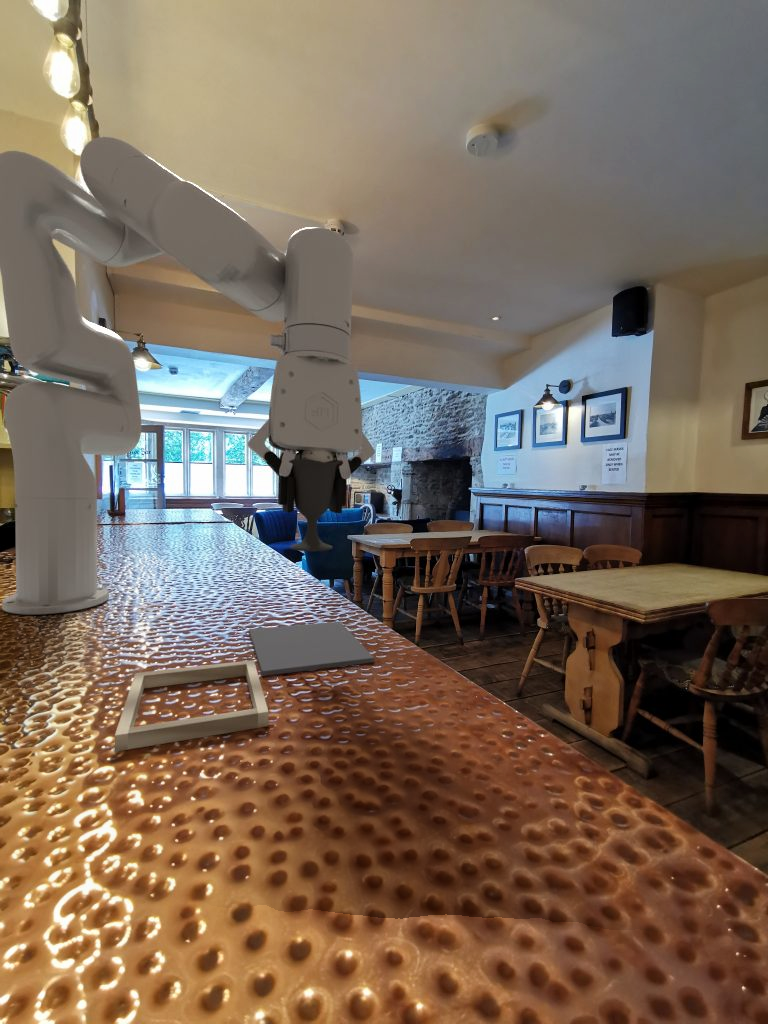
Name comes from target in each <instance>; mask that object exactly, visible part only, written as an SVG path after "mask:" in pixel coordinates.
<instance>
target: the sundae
mask: <svg viewBox="0 0 768 1024" xmlns="http://www.w3.org/2000/svg"><path fill="white" fill-rule="evenodd" d="M289 462H290V463H292V464H293V465H292V468H291V472H292V477H293V478H294V479H295V488H294V507H295V508H296V509H297V511H298V512H299V513H300V514H301V515H302V516H303V517H304V518H305V519H306V532H305V536H304V538H303V539H302V540H301V541H300V542H299V543H294V544H292V545H290V546H289V548H290V549H291V550H293V551H299V552H325V551H331V550H333V548H334V547H333V545H330V544H328V543H324V542H323V541H322V540H321V539H320V537H319V534H318V520H319V519H320V517H321V516H323V515H324V514H325V513H326V512H327V511H328V510H329V506H330V502H331V498H332V492H333V486H334V479H335V475H336V471H337V469H338V467H340V466H341V465H342V464H343V461H342V460H339V461H338V460H334V458H333V455H332V453H331V452H328V451H323V450H316V451H313V450H299V452H296V455H295V459H294V460H291V461H289Z"/></svg>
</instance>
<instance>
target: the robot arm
mask: <svg viewBox="0 0 768 1024" xmlns="http://www.w3.org/2000/svg"><path fill="white" fill-rule="evenodd" d="M79 166H80V172H81V175H82V177H83V181H84V183H85V185H86V186H84V185H83V184H82V183H81V182H79V181H78V180H76V178H73V177H72V176H70V175H68V173H66V172H65V171H63V170H61V169H59V168H58V167H57V166H54V165H53V164H52V163H50V162H48V161H46V160H44V159H41V158H40V157H37V156H36V155H32V154H29V153H27V152H25V151H24V152H23V151H18V150H7V151H3V152H2V153H0V275H1V283H2V285H1V286H2V294H3V301H4V308H5V316H6V317H5V318H6V325H7V333H8V339H9V340H8V341H9V344H10V348H11V352H12V355H13V358H14V359H15V361H16V362H17V363H18V364H19V365H20V366H22V368H24V369H25V370H27V371H30V372H32V373H35V374H38V375H40V376H41V375H42V376H45V377H48V378H52V379H56V380H61V381H65V382H69V383H74V384H77V385H82V386H84V388H85V389H82V388H79V387H76V386H75V387H74V386H70V385H67V384H66V385H65V384H61V383H60V384H59V383H55V382H49V381H29V382H25V383H22V384H19V385H17V386H16V387H14V388H13V389H12V390H10V392H9V393H8V395H7V396H6V399H5V400H4V401H5V402H4V406H3V417H4V422H5V426H6V431H7V436H8V439H9V443H10V447H11V448H10V449H11V452H12V459H13V460H12V461H13V470H14V471H13V472H14V473H13V474H14V475H13V476H14V499H15V501H14V502H15V503H14V506H15V507H14V509H15V511H14V513H15V517H14V519H15V520H14V521H15V577H16V578H15V583H16V584H15V585H16V587H15V588H16V589H15V590H16V593H13V594H11V595H8V596H6V597H4V599H2V601H1V610H2V611H4V612H6V613H9V614H15V615H25V616H26V615H27V616H28V615H51V614H53V615H54V614H60V613H69V612H75V611H81V610H86V609H88V608H94V607H96V606H98V605H101V604H103V603H105V602H106V601H108V600H109V598H110V592H109V590H108V589H107V588H106V587H104V586H103V587H102V586H98V490H97V489H98V488H97V487H98V486H97V481H96V478H95V475H94V472H93V470H92V468H91V466H90V464H89V463H88V461H87V460H86V458H85V457H84V455H94V456H95V455H97V456H106V457H107V456H109V457H110V456H111V457H117V456H124V455H126V454H129V453H130V452H132V451H133V450H134V449H135V448H136V447H137V445H139V444H138V443H139V441H140V439H141V434H142V413H141V405H140V398H139V390H138V389H139V387H138V379H137V371H136V364H135V360H134V356H133V354H132V351H131V349H130V347H129V345H128V344H127V342H126V341H125V340H124V339H123V338H122V337H121V336H120V335H118V334H117V333H115V332H114V331H112V330H111V329H108V328H105V327H103V326H100V325H98V324H96V323H93V322H90V321H88V320H87V319H86V318H84V317H83V315H82V313H81V310H80V306H79V299H78V290H77V285H76V282H75V279H74V276H73V274H72V272H71V270H70V268H69V267H68V264H67V261H65V259H64V258H63V257H62V255H61V253H60V251H58V249H57V247H56V245H55V244H54V241H53V240H55V241H57V242H59V243H60V244H62V245H65V246H66V247H68V248H70V249H72V250H73V251H76V252H77V253H80V254H81V255H83V256H85V257H87V258H89V259H91V260H93V261H95V262H96V263H99V264H101V265H103V266H106V267H109V268H124V267H128V266H131V265H135V264H138V263H140V262H144V261H146V260H150V259H152V258H156V257H159V256H161V255H167V256H169V257H170V258H172V259H173V260H174V261H175V262H177V263H178V264H179V265H181V266H183V267H184V268H185V269H186V270H188V271H189V272H190V273H192V274H193V275H194V276H196V277H197V278H198V279H200V280H201V281H203V282H204V283H206V284H207V285H208V286H209V287H211V288H213V289H215V290H216V291H218V292H219V293H221V294H223V296H226V297H227V298H228V299H230V300H232V301H234V302H236V303H237V304H238V305H240V306H242V307H243V308H244V309H246V310H247V311H249V312H250V313H252V314H253V315H255V316H256V317H258V318H260V319H262V320H264V321H267V322H270V323H272V322H273V323H278V322H279V323H281V322H283V332H281V333H280V334H277V335H276V334H270V337H269V348H273V349H276V350H279V352H280V353H281V356H278V358H277V360H276V363H275V368H274V373H273V378H272V386H271V393H270V399H269V413H268V419H267V420H266V421H265V422H264V424H263V425H262V426H261V427H260V428H259V429H258V430H257V431H256V433H254V435H253V436H252V437H251V438H250V439H249V440H248V441H247V447H248V449H250V450H251V451H252V452H253V453H255V454H256V455H257V456H258V457H259V458H261V459H262V460H263V462H265V464H266V465H268V466H269V468H270V469H272V471H273V473H275V475H276V476H278V482H277V483H278V490H277V491H278V492H277V502H278V503H277V504H278V505H279V506H282V512H284V513H287V514H292V513H293V512H295V501H294V488H295V479H294V478H293V477H292V472H291V468H292V465H293V464H292V463H290V462H289V461H291V460H294V459H295V455H296V453H298V452H299V450H313V451H316V450H323V451H328V452H331V453H332V455H333V458H334V460H338V461H339V460H342V461H343V464H342V465H341V466H340V467H338V469H337V471H336V475H335V479H334V486H333V492H332V498H331V502H330V506H329V508H328V510H329V511H330V512H331V513H335V514H342V512H343V507H345V506H346V504H347V486H348V485H347V482H348V479H350V478H351V476H352V474H353V473H355V472H356V470H357V469H359V468H360V467H361V465H362V464H364V463H365V462H366V461H368V460H369V459H371V458H372V457H373V456H374V455H375V453H376V451H375V448H374V447H373V445H372V444H371V442H370V441H369V439H368V438H367V436H366V435H365V434H364V432H363V411H362V397H361V386H360V380H359V379H360V378H359V372H358V367H357V366H356V365H354V364H351V360H350V359H351V337H352V333H351V332H352V305H353V280H354V279H353V278H354V275H353V272H354V255H353V250H352V247H351V245H350V242H348V240H347V239H346V238H345V237H344V236H343V235H342V234H340V233H338V232H337V231H334V230H332V229H329V228H323V227H319V226H317V227H313V226H312V227H311V226H310V227H304V228H301V229H299V230H296V231H295V232H294V233H292V235H291V236H290V237H289V238H288V241H287V243H286V246H285V252H283V251H281V250H279V249H278V248H276V247H275V246H274V244H272V243H271V242H270V241H269V240H268V239H267V238H266V237H265V236H264V235H263V234H262V233H261V232H260V231H258V230H257V229H256V228H255V227H254V226H253V225H252V224H250V222H248V220H246V219H245V218H243V216H241V215H240V214H239V213H237V212H236V211H235V210H233V209H232V208H230V207H229V206H227V205H226V204H225V203H224V202H221V201H220V200H219V199H217V198H215V197H214V196H213V195H212V194H210V193H209V192H207V191H205V190H204V189H202V188H201V187H199V186H198V185H196V184H195V183H193V182H191V181H189V180H184V179H182V178H181V177H179V176H178V175H176V174H174V173H173V172H172V171H170V170H169V169H167V168H166V167H165V166H163V165H161V163H158V162H157V161H156V160H154V159H153V158H151V157H150V156H149V155H147V154H145V153H144V152H143V151H141V150H139V149H138V148H137V147H135V146H133V145H132V144H130V143H128V142H126V141H124V140H121V139H119V138H115V137H111V136H101V137H96V138H93V139H91V140H90V141H88V142H87V143H86V144H85V146H84V147H83V149H82V150H81V153H80V158H79ZM280 353H279V354H280ZM267 439H268V442H269V445H270V446H271V447H272V448H274V449H276V450H279V451H281V452H280V455H279V456H278V455H277V454H276V453H275V452H273V451H272V450H271V449H270V448H269V447H267V446H266V441H267ZM354 452H357V453H355V454H354V455H353V456H352V457H350V458H348V455H347V453H354Z"/></svg>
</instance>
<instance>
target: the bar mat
mask: <svg viewBox="0 0 768 1024" xmlns="http://www.w3.org/2000/svg"><path fill="white" fill-rule="evenodd" d="M248 634H249V638H250V641H251V644H252V649H253V651H254V654H255V658H256V662H257V663H258V667H259V671H260V673H261V676H262V677H265V676H274V675H281V674H289V673H296V672H306V671H314V670H320V669H331V668H337V667H345V666H353V665H361V664H369V663H375V657H374V656H373V655H372V654H371V653H370V652H369V651H368V649H367V648H366V647H364V645H363V644H362V643H361V642H360V641H359V640H358V639H357V638H356V637H355V636H354V634H353V633H352V632H351V631H349V630H348V629H347V628H346V627H345V625H344V624H343V623H342V622H341V621H330V622H319V623H318V622H317V623H307V624H293V625H285V626H284V625H283V626H270V627H259V628H249V630H248Z"/></svg>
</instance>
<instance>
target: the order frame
mask: <svg viewBox="0 0 768 1024" xmlns="http://www.w3.org/2000/svg"><path fill="white" fill-rule="evenodd" d="M239 677H246V682H247V686H248V690H249V691H248V692H249V695H250V700H251V704H252V708H251V709H243V710H236V711H230V712H223V713H216V714H211V715H210V714H208V715H205V716H198V717H190V718H183V719H178V720H177V719H176V720H171V721H163V722H158V723H150V724H143V725H138V726H135V723H136V719H137V716H138V711H139V708H140V706H141V705H140V704H141V702H142V701H141V700H142V697H143V695H144V689H150V688H157V687H164V686H174V685H181V684H189V683H197V682H209V681H215V680H223V679H224V680H225V679H232V678H239ZM264 727H269V709H268V705H267V702H266V699H265V695H264V690H263V688H262V684H261V681H260V677H259V672H258V671H257V667H256V663H255V660H254V659H253V660H243V661H235V662H234V661H233V662H223V663H215V664H208V665H207V664H206V665H205V664H204V665H197V666H189V667H188V666H187V667H179V668H178V667H177V668H170V669H169V668H167V669H162V670H161V669H160V670H152V671H151V670H150V671H144V672H143V671H142V672H135V673H134V676H133V678H132V681H131V686H130V688H129V690H128V694H127V698H126V700H125V703H124V706H123V710H122V712H121V716H120V718H119V722H118V725H117V728H116V731H115V734H114V752H115V753H116V752H121V751H126V750H127V751H129V750H133V749H138V748H145V747H151V746H158V745H163V744H168V743H169V744H170V743H175V742H181V741H186V740H187V741H188V740H192V739H198V738H205V737H211V736H216V735H222V734H229V733H234V732H241V731H247V730H253V729H260V728H264Z"/></svg>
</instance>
